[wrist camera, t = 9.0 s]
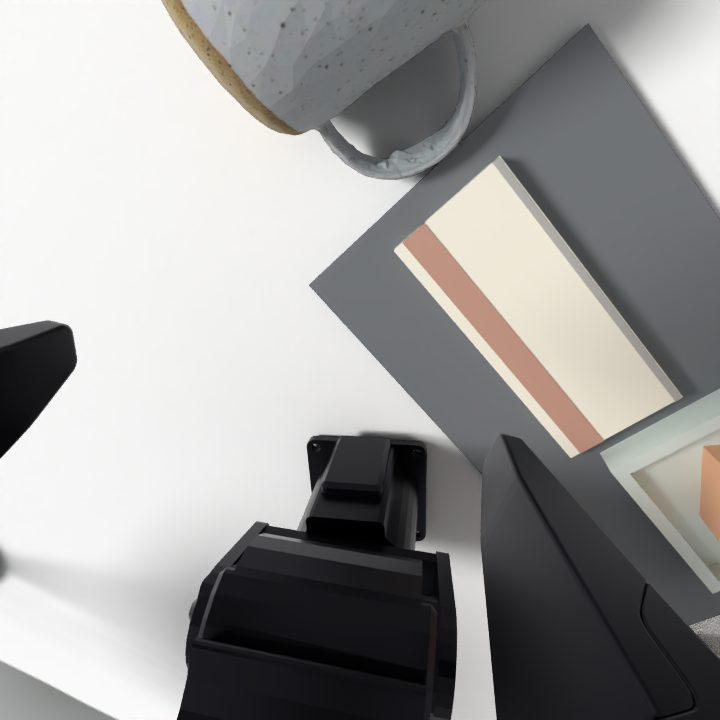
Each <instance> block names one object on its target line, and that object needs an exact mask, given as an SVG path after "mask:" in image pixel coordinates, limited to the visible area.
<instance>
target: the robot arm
mask: <svg viewBox="0 0 720 720" xmlns="http://www.w3.org/2000/svg"><path fill="white" fill-rule="evenodd" d="M76 363H77V355H76V349H75V343H74V337H73V332H72V329H71V328H70V327H69V326H68V325H66V324H62V323H58V322H54V321H41V322H36V323H31V324H25V325H20V326H15V327H10V328H5V329H0V459H1V457H2V456H3V455H4V454H5V453H6V452H7V451H8V450H9V449H10V448H11V447H12V446H13V445H14V444H15V443H16V442H17V441H18V439H19V438H20V437H21V436H22V435H23V434H24V433H25V432H26V431H27V430H28V428H29V427H30V426H31V425H32V424H33V423H34V421H35V420H36V419H37V418H38V416H39V415H40V414H41V412H42V411H43V410H44V408H45V407H46V406H47V405H48V403H49V402H50V401H51V399H52V398H53V397H54V395H55V394H56V393H57V392H58V390H59V389H60V388H61V386H62V385H63V384H64V382H65V381H66V380H67V378H68V377H69V376H70V375H71V373H72V372H73V370H74V369H75V367H76ZM314 444H318V445H319V446H320V447H315V446H314ZM415 449H418V450H420V451H421V452H420V453H415V452H414V451H413V450H415ZM307 453H308V462H309V471H310V481H311V490H312V495H311V497H310V499H309V502H308V504H307V507H306V509H305V512H304V514H303V517H302V519H301V522H300V524H299V527H298V529H297V531H296V530H290V529H285V528H279V527H273V526H269V524H268V523H263V522H255V524H254V525H253V526H252V527H251V528H250V529H249V530H248V531H247V532H246V533H245V534H244V536H243V537H242V538H241V539H240V540H239V541H238V542H237V543H236V544H235V545H234V546H233V547H232V549H231V550H230V551H229V552H228V553H227V554H226V555H225V556H224V557H223V558H222V559H221V560H220V562H219V563H218V564H217V565H216V566H215V567H214V569H213V570H212V571H211V572H210V574H209V575H208V576H207V577H206V578H205V579H204V581H203V582H202V584H201V587H200V591H199V595H198V599H196V600H195V601H194V602H193V604H192V606H191V608H190V611H189V619H190V625H189V630H188V635H187V642H186V664H187V667H188V675H187V681H186V685H185V689H184V694H183V698H182V702H181V707H180V711H179V714H178V717H177V720H451V714H452V708H453V699H454V689H455V677H456V657H457V618H456V607H455V599H454V591H453V583H452V575H451V567H450V559H449V553H443V552H437V551H436V554H433V553H427V552H421V551H415V541H421V540H423V539H424V538H425V535H426V474H427V448H426V446H425V444H424V443H422V442H419V441H406V440H388V439H386V438H375V437H356V436H341V437H330V436H313V437H311V438H310V440H309V442H308V444H307ZM416 531H419V533H416ZM481 552H482V563H483V574H484V585H485V596H486V607H487V618H488V629H489V640H490V651H491V662H492V673H493V684H494V695H495V706H496V717H497V720H720V658H719V657H718V656H717V655H716V654H715V653H714V652H713V651H712V650H711V649H710V648H709V647H708V646H707V645H706V644H705V642H704V641H703V640H702V639H701V638H700V637H699V636H698V635H697V634H696V633H695V632H694V631H693V630H692V629H691V628H690V627H689V626H688V624H687V623H686V622H685V621H684V620H683V619H682V618H681V617H680V616H679V615H678V614H677V613H676V611H675V610H674V609H673V608H672V607H671V606H670V605H669V604H668V603H667V602H666V600H665V599H664V598H663V597H662V596H661V595H660V594H659V593H658V591H657V590H656V589H655V588H654V587H653V586H652V585H651V584H650V583H646V578H645V577H644V576H643V575H642V574H641V573H640V571H639V570H638V569H637V568H636V567H635V566H634V565H633V564H632V562H631V561H630V560H629V559H628V558H627V557H626V556H625V555H624V553H623V552H622V551H621V550H620V549H619V548H618V547H617V546H616V544H615V543H614V542H613V541H612V540H611V539H610V538H609V537H608V535H607V534H606V533H605V532H604V531H603V530H602V529H601V528H600V526H599V525H598V524H597V523H596V522H595V521H594V520H593V519H592V517H591V516H590V515H589V514H588V513H587V512H586V511H585V510H584V508H583V507H582V506H581V505H580V504H579V503H578V502H577V501H576V499H575V498H574V497H573V496H572V495H571V494H570V493H569V492H568V490H567V489H566V488H565V487H564V486H563V485H562V484H561V483H560V481H559V480H558V479H557V478H556V477H555V476H554V475H553V474H552V472H551V471H550V470H549V469H548V468H547V467H546V466H545V465H544V463H543V462H542V461H541V460H540V459H539V458H538V457H537V456H536V454H535V453H534V452H533V451H532V450H531V449H530V448H529V447H528V445H527V444H526V443H525V442H524V441H523V440H522V439H521V438H519V437H517V436H513V435H508V434H504V433H501V434H499V435H498V436H497V438H496V439H495V441H494V443H493V446H492V448H491V450H490V452H489V454H488V456H487V458H486V460H485V462H484V466H483V471H482V503H481Z"/></svg>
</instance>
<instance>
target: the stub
mask: <svg viewBox="0 0 720 720" xmlns="http://www.w3.org/2000/svg"><path fill="white" fill-rule="evenodd" d="M699 516H700V517H701V518H702V520H703V521H704V522H705V524H706V525H707V526H708V528H709V529H710V530H711V532H712V533H713V534H714V536H715V537H716V538H717V540H718V541H719V542H720V444H719V445H708V446H703V455H702V475H701V494H700V514H699Z"/></svg>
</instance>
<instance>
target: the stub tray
mask: <svg viewBox="0 0 720 720" xmlns="http://www.w3.org/2000/svg"><path fill="white" fill-rule="evenodd" d="M719 444H720V389H718V390H716V391H714V392H712V393H710V394H708V395H707V396H705V397H703V398H701V399H699V400H697V401H695V402H694V403H692V404H690V405H688V406H686V407H684V408H682V409H681V410H679V411H677V412H675V413H673V414H671V415H669V416H668V417H666V418H664V419H662V420H660V421H658V422H656V423H654V424H653V425H651V426H649V427H647V428H645V429H643V430H641V431H640V432H638V433H636V434H634V435H632V436H630V437H628V438H627V439H625V440H623V441H621V442H619V443H617V444H615V445H614V446H612V447H610V448H608V449H606V450H604V451H602V452H601V453H600V454H601V456H602V458H603V459H604V461H605V463H606V465H607V467H608V468H609V470H610V472H611V473H612V474H613V475H614V477H615V478H616V479H617V480H618V481H619V483H620V484H621V485H622V486H623V487H624V489H625V490H626V491H627V492H628V493H629V494H630V496H631V497H632V498H633V499H634V500H635V502H636V503H637V504H638V505H639V506H640V508H641V509H642V510H643V511H644V512H645V514H646V515H647V516H648V517H649V518H650V520H651V521H652V522H653V523H654V524H655V526H656V527H657V528H658V529H659V530H660V532H661V533H662V534H663V535H664V536H665V537H666V539H667V540H668V541H669V542H670V543H671V545H672V546H673V547H674V548H675V549H676V551H677V552H678V553H679V554H680V555H681V557H682V558H683V559H684V560H685V561H686V563H687V564H688V565H689V566H690V567H691V569H692V570H693V571H694V572H695V573H696V575H697V576H698V577H699V578H700V579H701V580H702V582H703V583H704V584H705V585H706V586H707V588H708V589H709V590H710V591H711V592H712V594H713V593H716V592H719V591H720V542H719V541H718V540H717V538H716V537H715V536H714V534H713V533H712V532H711V530H710V529H709V528H708V526H707V525H706V524H705V522H704V521H703V520H702V518H701V517H700V516H699V514H700V494H701V475H702V455H703V446H708V445H719Z"/></svg>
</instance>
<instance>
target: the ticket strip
mask: <svg viewBox="0 0 720 720" xmlns="http://www.w3.org/2000/svg"><path fill="white" fill-rule="evenodd" d="M394 252H395V253H396V254H397V255H398V257H399V258H400V259H401V260H402V261H403V262H404V264H405V265H406V266H407V267H408V268H409V269H410V271H411V272H412V273H413V274H414V275H415V277H416V278H417V279H418V280H419V281H420V282H421V284H422V285H423V286H424V287H425V288H426V289H427V291H428V292H429V293H430V294H431V295H432V296H433V298H434V299H435V300H436V301H437V302H438V303H439V305H440V306H441V307H442V308H443V309H444V310H445V312H446V313H447V314H448V315H449V316H450V317H451V319H452V320H453V321H454V322H455V323H456V324H457V326H458V327H459V328H460V329H461V330H462V332H463V333H464V334H465V335H466V336H467V337H468V339H469V340H470V341H471V342H472V343H473V344H474V346H475V347H476V348H477V349H478V350H479V351H480V353H481V354H482V355H483V356H484V357H485V358H486V360H487V361H488V362H489V363H490V364H491V365H492V367H493V368H494V369H495V370H496V371H497V372H498V374H499V375H500V376H501V377H502V378H503V380H504V381H505V382H506V383H507V384H508V385H509V387H510V388H511V389H512V390H513V391H514V392H515V394H516V395H517V396H518V397H519V398H520V399H521V401H522V402H523V403H524V404H525V405H526V406H527V408H528V409H529V410H530V411H531V412H532V413H533V415H534V416H535V417H536V418H537V419H538V420H539V422H540V423H541V424H542V425H543V426H544V427H545V429H546V430H547V431H548V432H549V433H550V435H551V436H552V437H553V438H554V439H555V440H556V442H557V443H558V444H559V445H560V446H561V447H562V449H563V450H564V451H565V452H566V453H567V454H568V456H569V457H570V458H572V457H574V456H576V455H578V454H581V453H582V452H584V451H586V450H588V449H590V448H592V447H593V446H595V445H597V444H599V443H601V442H603V441H604V440H605V439H607V438H609V437H611V436H612V435H614V434H616V433H618V432H620V431H622V430H623V429H625V428H627V427H629V426H631V425H633V424H634V423H636V422H638V421H640V420H642V419H644V418H645V417H647V416H649V415H651V414H653V413H654V412H656V411H658V410H660V409H662V408H664V407H665V406H667V405H669V404H671V403H673V402H676V401H678V400H679V399H681V398H682V397H683V396H682V395H681V394H680V392H679V391H678V390H677V388H676V387H675V386H674V384H673V383H672V382H671V380H670V379H669V378H668V376H667V375H666V374H665V372H664V371H663V370H662V369H661V367H660V366H659V365H658V363H657V362H656V361H655V359H654V358H653V357H652V355H651V354H650V353H649V351H648V350H647V349H646V347H645V346H644V345H643V344H642V342H641V341H640V340H639V338H638V337H637V336H636V334H635V333H634V332H633V330H632V329H631V328H630V326H629V325H628V324H627V322H626V321H625V320H624V319H623V317H622V316H621V315H620V313H619V312H618V311H617V309H616V308H615V307H614V305H613V304H612V303H611V301H610V300H609V299H608V297H607V296H606V295H605V293H604V292H603V291H602V290H601V288H600V287H599V286H598V284H597V283H596V282H595V280H594V279H593V278H592V276H591V275H590V274H589V272H588V271H587V270H586V268H585V267H584V266H583V265H582V263H581V262H580V261H579V259H578V258H577V257H576V255H575V254H574V253H573V251H572V250H571V249H570V247H569V246H568V245H567V243H566V242H565V241H564V239H563V238H562V237H561V236H560V234H559V233H558V232H557V230H556V229H555V228H554V226H553V225H552V224H551V222H550V221H549V220H548V218H547V217H546V216H545V214H544V213H543V212H542V211H541V209H540V208H539V207H538V205H537V204H536V203H535V201H534V200H533V199H532V197H531V196H530V195H529V193H528V192H527V191H526V189H525V188H524V187H523V185H522V184H521V183H520V182H519V180H518V179H517V178H516V176H515V175H514V174H513V172H512V171H511V170H510V168H509V167H508V166H507V164H506V163H505V162H504V160H503V159H502V158H501V157H500V156H499V157H497V158H496V159H495V160H494V161H492V162H491V163H490V164H489V165H488V166H487V167H486V168H485V169H483V170H482V171H481V172H480V173H479V174H478V175H477V176H476V177H474V178H473V179H472V180H471V181H470V182H469V183H468V184H467V185H465V186H464V187H463V188H462V189H461V190H460V191H459V192H458V193H456V194H455V195H454V196H453V197H452V198H451V199H450V200H449V201H447V202H446V203H445V204H444V205H443V206H442V207H441V208H440V209H438V210H437V211H436V212H435V213H434V214H433V215H432V216H431V217H429V218H428V219H427V220H426V221H425V222H424V223H423V224H422V225H420V226H419V227H418V228H417V229H416V230H415V231H414V232H413V233H411V234H410V235H409V236H408V237H407V238H406V239H405V240H404V241H402V242H401V243H400V244H399V245H398V246H397V247H396V248H395V249H394Z"/></svg>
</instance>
